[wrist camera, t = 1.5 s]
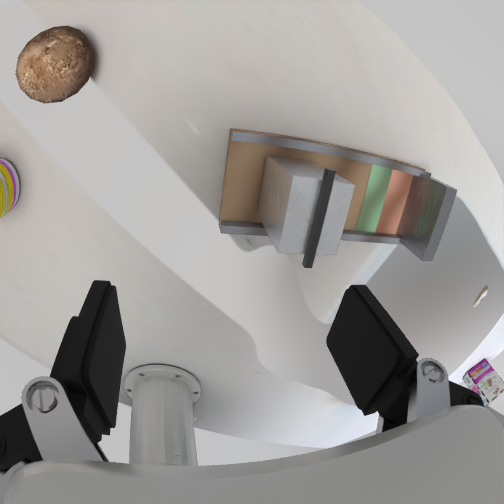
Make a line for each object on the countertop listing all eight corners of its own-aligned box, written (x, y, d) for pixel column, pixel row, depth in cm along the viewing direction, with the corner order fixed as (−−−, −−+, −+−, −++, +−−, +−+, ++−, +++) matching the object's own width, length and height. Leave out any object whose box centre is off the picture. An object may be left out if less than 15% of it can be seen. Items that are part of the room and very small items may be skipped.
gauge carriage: (317, 153, 27) (361, 175, 19) (301, 225, 30) (335, 268, 23) (268, 145, 26) (298, 164, 18) (255, 222, 29) (277, 267, 22)
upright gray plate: (424, 173, 30) (457, 189, 25) (404, 238, 34) (432, 260, 29) (413, 170, 30) (447, 186, 25) (394, 237, 34) (421, 260, 29)
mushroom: (7, 114, 17) (3, 88, 12) (28, 46, 16) (34, 12, 11) (78, 117, 22) (90, 93, 18) (93, 52, 21) (111, 21, 17)
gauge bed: (419, 167, 31) (431, 172, 29) (398, 237, 36) (408, 245, 34) (230, 128, 25) (233, 130, 23) (218, 224, 30) (220, 234, 28)
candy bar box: (461, 379, 74) (483, 410, 60) (466, 371, 72) (489, 403, 57) (480, 365, 75) (502, 394, 61) (485, 357, 72) (508, 386, 58)
